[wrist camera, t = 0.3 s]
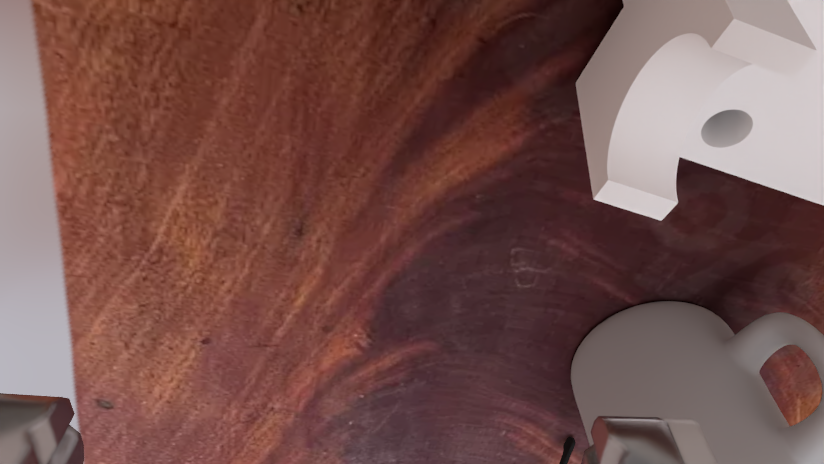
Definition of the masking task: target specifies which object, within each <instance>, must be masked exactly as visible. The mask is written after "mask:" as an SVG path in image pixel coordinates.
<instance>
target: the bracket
mask: <svg viewBox="0 0 824 464" xmlns="http://www.w3.org/2000/svg"><path fill="white" fill-rule="evenodd" d="M622 1H623V5H624V7H623V9H622V10H621V12H620V14H619V15H618V17H617V18H616V20H615V21H614V23H613V25H612V26H611V28H610V29H609V31H608V32H607V34H606V36H605V37H604V39H603V40H602V42H601V44H600V45H599V47H598V48H597V50H596V51H595V53H594V55H593V56H592V58H591V59H590V61H589V62H588V64H587V66H586V67H585V69H584V70H583V72H582V73H581V75H580V77H579V78H578V80H577V81H576V83H575V84H576V90H577V97H578V103H579V110H580V116H581V123H582V129H583V136H584V142H585V149H586V155H587V162H588V168H589V175H590V181H591V188H592V194H593V199H594V200H597V201H600V202H603V203H606V204H610V205H613V206H616V207H619V208H622V209H625V210H629V211H632V212H635V213H638V214H641V215H645V216H648V217H651V218H654V219H657V220H660V221H662V220H663V219H664V218H665V217H666V215H667V214H668V213H669V212H670V211H671V210H672V209H673V208H674V207H675V206H676V205H677V203H678V199H677V192H676V174H677V167H678V162H679V157H681V158H684V159H687V160H690V161H693V162H696V163H699V164H702V165H705V166H708V167H711V168H714V169H717V170H720V171H723V172H726V173H729V174H732V175H735V176H738V177H741V178H744V179H747V180H749V181H752V182H755V183H758V184H761V185H764V186H767V187H770V188H773V189H776V190H779V191H782V192H785V193H788V194H791V195H794V196H797V197H800V198H803V199H806V200H809V201H812V202H815V203H818V204H821V205H824V0H622Z"/></svg>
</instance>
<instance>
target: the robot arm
mask: <svg viewBox="0 0 824 464" xmlns="http://www.w3.org/2000/svg"><path fill="white" fill-rule="evenodd" d="M73 416H74V411H73V408H72V406H71V403H70V400H69V399H68V398H63V397H48V396H33V395H17V394H1V393H0V464H83V461H84V445H83V441H82V437H81V434H80V433H79V432H78V431H76V430H75V429H74V428H73V427H71V426H70V425H69V423H70V421H71V420H72V418H73ZM591 436H592V439H593V443H594V444H593V445H592V446H591V447H589V448H588V449H586V450H585V451H584V455H583V459H582V463H581V464H718V463H717V461H716V459H715V457H714V455H713V452H712V450H711V448H710V446H709V444H708V442H707V440H706V438H705V436H704V433H703V431H702V429H701V427H700V425H699V424H698V423H697V422H696V421H695V420H694V419H684V418H658V417H625V416H598V417H597V418H596V419H595V421H594V423H593V426H592V429H591Z"/></svg>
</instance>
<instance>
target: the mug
mask: <svg viewBox="0 0 824 464" xmlns="http://www.w3.org/2000/svg"><path fill="white" fill-rule="evenodd" d="M788 344H794V345H797V346H798V347H800V348H801V349H802V350H803V351H804V352H805V353H806V354H807V355H808V356H809V358H810V359H811V360H812V362H813V363H814V365H815V367H816V369H817V371H818V373H819V376H820V379H821V383H822V392H823V394H822V398H821V402H820V404H819V405H818V407H817V409H816V410H815V411H814V412H813V413H812V414H811V415H810V416H809V417H807V418H806V419H805V420H803V421H801V422H800V423H798V424H796V425H793V426H789V424H788V423H787V421H786V419H785V418H784V416H783V414H782V413H781V411H780V409H779V408H778V406H777V404H776V402H775V401H774V399H773V397H772V396H771V394H770V392H769V390H768V388H767V386H766V384H765V383H764V381H763V379H762V377H761V376H760V374H759V371H760V369H761V367H762V365H763V364H764V362H765V361H766V360H767V359H768V358H769V357H770V356H771V355H772V354H773V353H774V352H775V351H777V350H778V349H779V348H781V347H783V346H785V345H788ZM571 383H572V388H573V392H574V396H575V400H576V403H577V406H578V409H579V412H580V415H581V418H582V421H583V424H584V428H585V431H586V434H587V437H588V441H589V444H590V447H591V446H592V445H593V444H594V443H593V439H592V436H591V429H592V426H593V423H594V421H595V419H596V418H597V417H598V416H625V417H658V418H684V419H694V420H695V421H696V422H697V423H698V424H699V425H700V427H701V429H702V431H703V433H704V436H705V438H706V440H707V442H708V444H709V446H710V448H711V450H712V452H713V455H714V457H715V459H716V461H717V463H718V464H824V335H823V334H822V333H820V332H819V331H818V330H817V329H816V328H815V327H814V326H812V325H811V324H809V323H808V322H806V321H805V320H803V319H801V318H799V317H796V316H794V315H791V314H789V313H780V312H777V313H772V314H767V315H764V316H762V317H760V318H758V319H756V320H755V321H753V322H752V323H750V324H749V325H747V326H746V327H745V328H743V329H742V330H741V331H739V332H738V333H737V334H736V335H735V334H734V333H733V331H732V330H731V329H730V327H729V326H728V325H727V324H726V323H725V322H724V321H723V320H722V319H721V318H720V317H719V316H717V315H716V314H714V313H713V312H712V311H709V310H707V309H705V308H703V307H700V306H697V305H694V304H690V303H685V302H676V301H659V302H651V303H646V304H641V305H637V306H634V307H631V308H628V309H626V310H623V311H621V312H619V313H616V314H615V315H613V316H611V317H609V318H607V319H606V320H605V321H603V322H602V323H600V324H599V325H598V326H597V327H595V328H594V329H593V330H592V331H591V332H590V333H589V334H588V335H587V336H586V337H585V339H584V340H583V341H582V343H581V344H580V346H579V347H578V349H577V351H576V353H575V355H574V358H573V361H572V367H571Z"/></svg>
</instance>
